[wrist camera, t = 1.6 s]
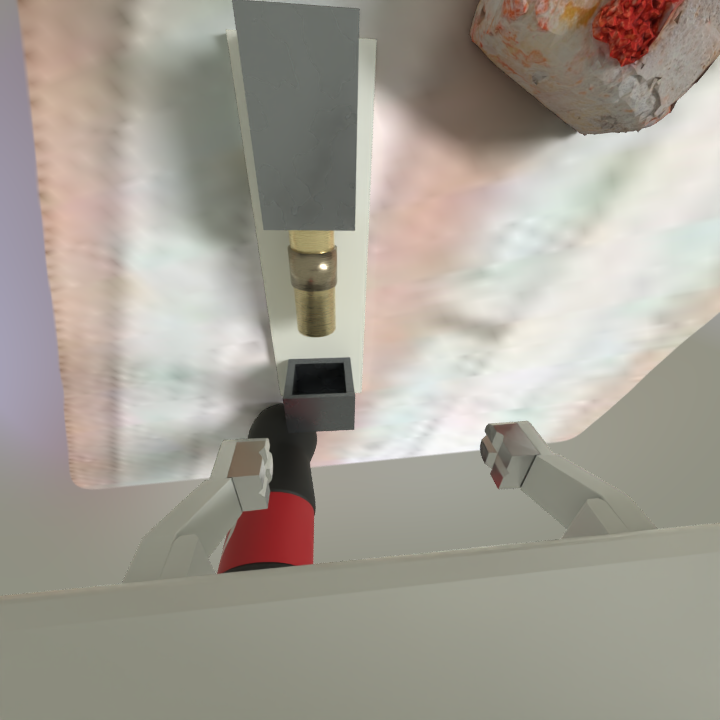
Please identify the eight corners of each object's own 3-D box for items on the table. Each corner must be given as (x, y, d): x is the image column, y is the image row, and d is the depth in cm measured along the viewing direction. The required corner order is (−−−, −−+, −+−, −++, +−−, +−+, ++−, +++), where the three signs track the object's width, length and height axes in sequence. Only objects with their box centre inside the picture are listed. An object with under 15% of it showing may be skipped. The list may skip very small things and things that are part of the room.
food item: (445, 44, 23) (510, -1, 15) (521, -118, 19) (661, -293, 11) (572, 145, 28) (674, 151, 20) (654, 29, 24) (822, -22, 16)
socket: (288, 359, 37) (282, 399, 31) (350, 357, 37) (355, 395, 32) (292, 391, 39) (287, 433, 34) (349, 388, 40) (354, 429, 35)
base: (228, 32, 22) (225, 29, 21) (375, 42, 23) (376, 39, 22) (281, 391, 40) (280, 396, 40) (360, 388, 41) (361, 392, 41)
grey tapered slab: (253, 31, 21) (232, -2, 16) (350, 37, 22) (359, 8, 17) (274, 211, 28) (263, 230, 22) (348, 212, 28) (355, 230, 23)
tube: (271, 48, 21) (262, 33, 18) (333, 52, 21) (336, 38, 18) (296, 317, 32) (293, 339, 29) (337, 317, 32) (338, 338, 29)
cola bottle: (244, 432, 44) (147, 810, 19) (265, 389, 40) (177, 796, 15) (302, 448, 47) (281, 792, 22) (327, 409, 43) (335, 777, 18)
